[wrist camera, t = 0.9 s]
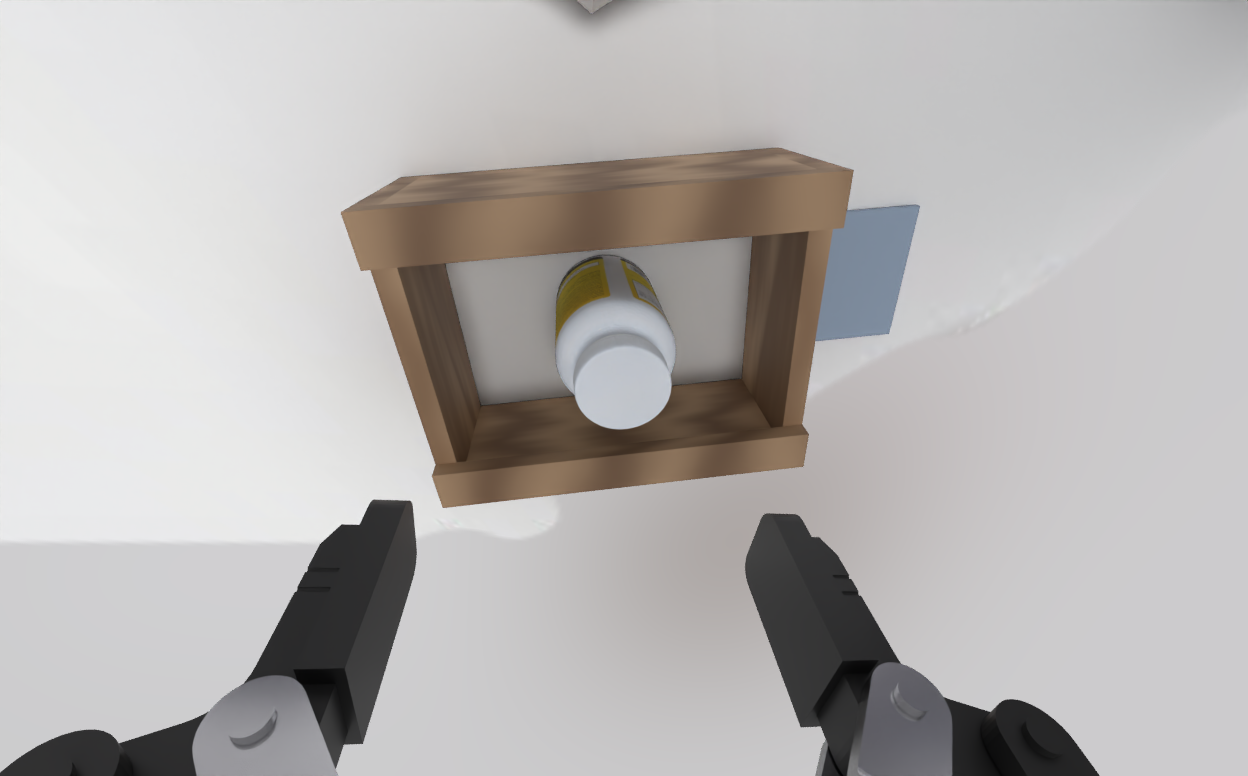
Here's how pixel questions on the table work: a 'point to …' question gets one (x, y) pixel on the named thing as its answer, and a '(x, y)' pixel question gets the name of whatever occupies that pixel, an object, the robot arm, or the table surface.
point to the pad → (865, 272)
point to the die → (593, 4)
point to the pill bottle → (613, 343)
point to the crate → (594, 220)
